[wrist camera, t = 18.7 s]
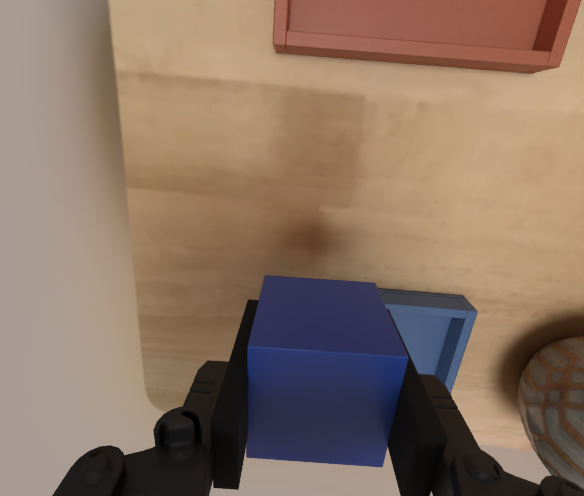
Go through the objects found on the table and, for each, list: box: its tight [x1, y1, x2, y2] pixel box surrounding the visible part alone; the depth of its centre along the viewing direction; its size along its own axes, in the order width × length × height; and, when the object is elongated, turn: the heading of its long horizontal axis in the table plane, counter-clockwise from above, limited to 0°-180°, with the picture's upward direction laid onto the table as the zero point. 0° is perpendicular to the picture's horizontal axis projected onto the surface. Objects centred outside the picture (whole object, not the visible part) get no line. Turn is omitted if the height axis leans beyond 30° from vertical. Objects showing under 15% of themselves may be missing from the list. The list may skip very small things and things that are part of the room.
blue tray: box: [378, 289, 478, 394], centre depth 30 cm, size 18×14×3 cm
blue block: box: [246, 275, 408, 467], centre depth 13 cm, size 5×5×5 cm
